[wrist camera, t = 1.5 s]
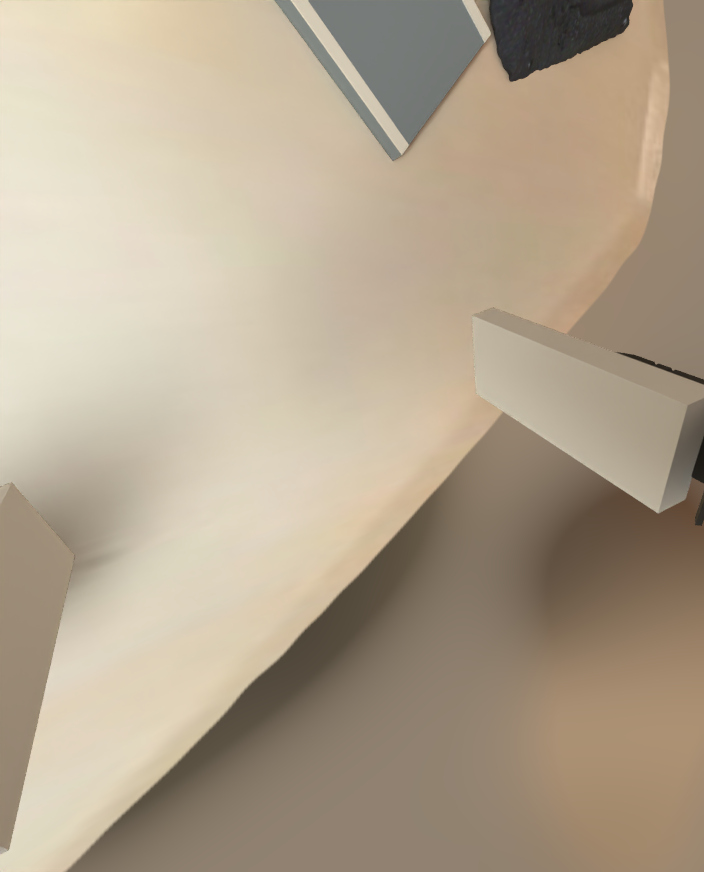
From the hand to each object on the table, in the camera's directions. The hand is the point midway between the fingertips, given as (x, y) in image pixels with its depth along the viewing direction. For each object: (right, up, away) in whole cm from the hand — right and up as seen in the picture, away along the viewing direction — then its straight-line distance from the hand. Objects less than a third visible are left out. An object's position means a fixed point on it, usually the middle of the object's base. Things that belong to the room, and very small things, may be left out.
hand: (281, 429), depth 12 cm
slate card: (+4, +32, +20) cm, 38 cm away
